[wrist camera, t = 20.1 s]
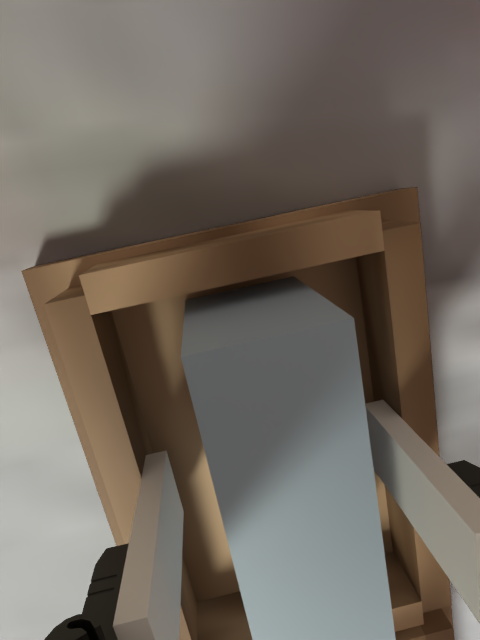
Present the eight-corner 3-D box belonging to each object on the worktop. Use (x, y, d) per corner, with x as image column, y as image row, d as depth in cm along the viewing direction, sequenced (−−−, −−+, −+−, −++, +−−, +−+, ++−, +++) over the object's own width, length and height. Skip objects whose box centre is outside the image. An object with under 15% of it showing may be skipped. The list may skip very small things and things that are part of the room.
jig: (211, 792, 24) (214, 895, 20) (34, 266, 16) (-14, 283, 12) (450, 725, 24) (494, 814, 21) (401, 188, 16) (459, 183, 13)
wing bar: (248, 563, 18) (274, 725, 13) (185, 299, 15) (180, 356, 9) (337, 541, 19) (402, 691, 13) (293, 276, 15) (353, 317, 10)
